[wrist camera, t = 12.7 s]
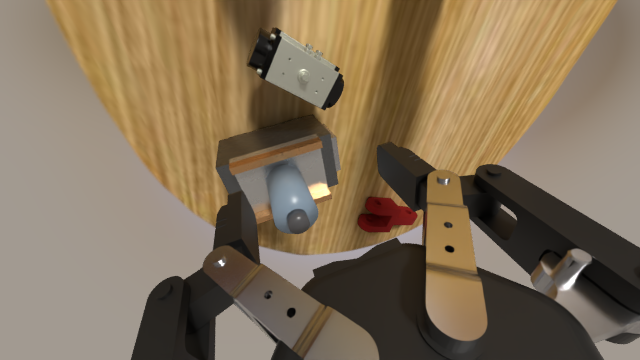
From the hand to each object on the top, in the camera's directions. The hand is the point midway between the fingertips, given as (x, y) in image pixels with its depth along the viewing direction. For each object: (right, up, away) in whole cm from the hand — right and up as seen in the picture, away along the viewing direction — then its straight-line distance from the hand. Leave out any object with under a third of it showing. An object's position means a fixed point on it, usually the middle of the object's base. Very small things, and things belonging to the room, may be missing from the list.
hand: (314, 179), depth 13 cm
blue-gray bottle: (-5, 0, +20) cm, 20 cm away
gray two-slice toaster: (-8, +6, +29) cm, 30 cm away
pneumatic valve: (-5, +18, +22) cm, 29 cm away
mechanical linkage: (+17, -8, +48) cm, 51 cm away
